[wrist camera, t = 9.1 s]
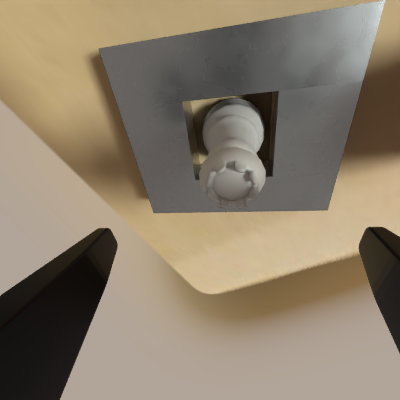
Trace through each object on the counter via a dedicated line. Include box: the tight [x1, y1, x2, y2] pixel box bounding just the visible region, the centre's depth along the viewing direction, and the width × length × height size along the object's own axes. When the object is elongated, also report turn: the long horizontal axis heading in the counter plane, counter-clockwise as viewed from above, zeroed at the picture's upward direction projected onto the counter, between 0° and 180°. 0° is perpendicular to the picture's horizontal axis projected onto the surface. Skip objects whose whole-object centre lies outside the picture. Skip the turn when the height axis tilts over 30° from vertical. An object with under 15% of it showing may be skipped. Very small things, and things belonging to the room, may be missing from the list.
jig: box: [99, 0, 385, 213], centre depth 15 cm, size 14×12×2 cm
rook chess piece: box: [199, 98, 266, 210], centre depth 13 cm, size 4×4×8 cm
